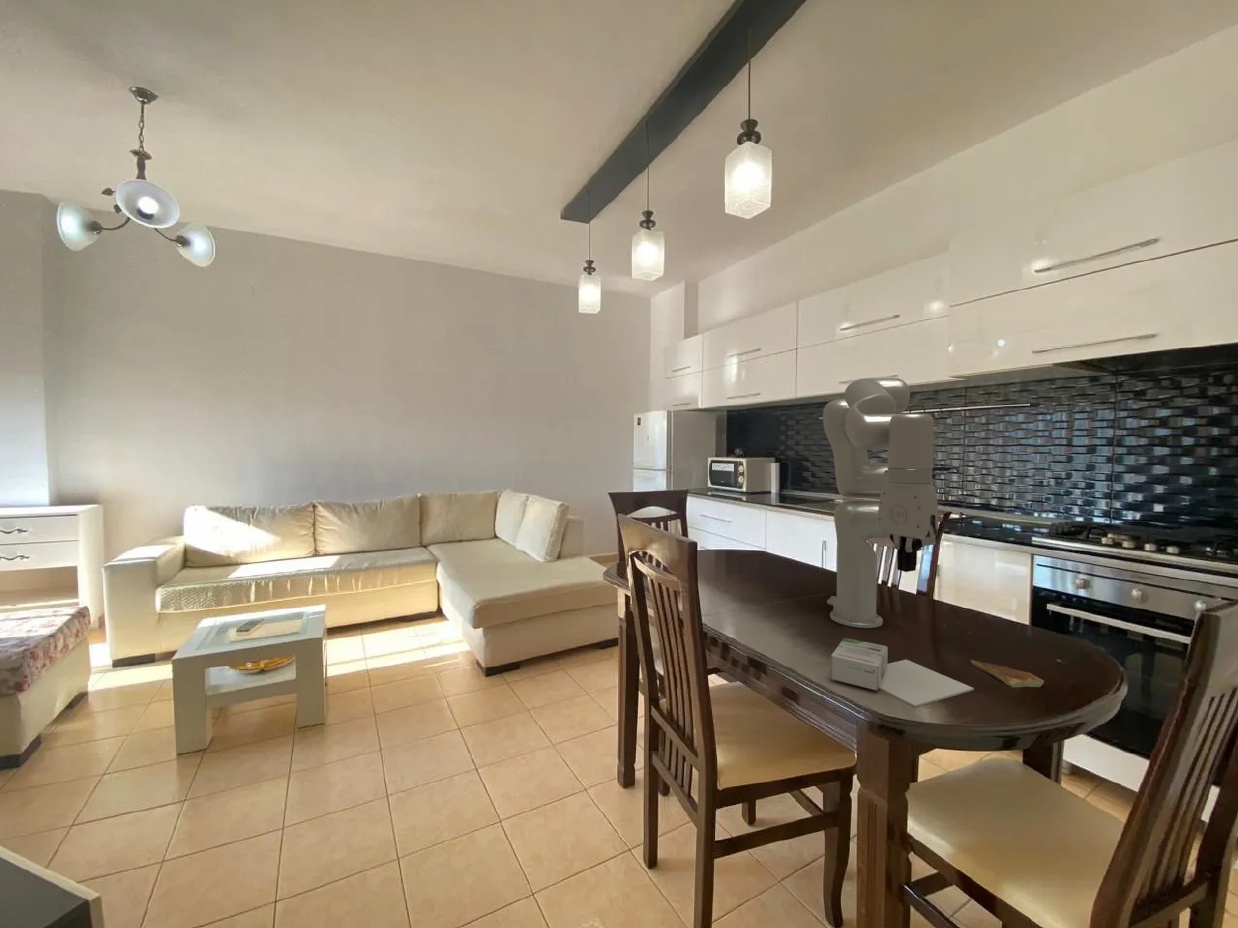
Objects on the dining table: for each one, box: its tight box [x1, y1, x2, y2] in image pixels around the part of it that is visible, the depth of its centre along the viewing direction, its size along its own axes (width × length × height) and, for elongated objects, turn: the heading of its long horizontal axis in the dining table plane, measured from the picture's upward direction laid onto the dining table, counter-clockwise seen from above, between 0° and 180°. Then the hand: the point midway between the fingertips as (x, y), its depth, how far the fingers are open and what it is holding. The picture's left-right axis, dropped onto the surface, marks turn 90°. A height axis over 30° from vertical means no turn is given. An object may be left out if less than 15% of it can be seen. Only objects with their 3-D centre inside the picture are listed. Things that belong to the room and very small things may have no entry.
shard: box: [969, 658, 1045, 688], centre depth 103 cm, size 11×8×2 cm
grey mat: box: [878, 659, 975, 708], centre depth 99 cm, size 14×16×1 cm
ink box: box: [830, 637, 889, 691], centre depth 102 cm, size 8×5×12 cm
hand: (906, 570), depth 100 cm, fingers closed
